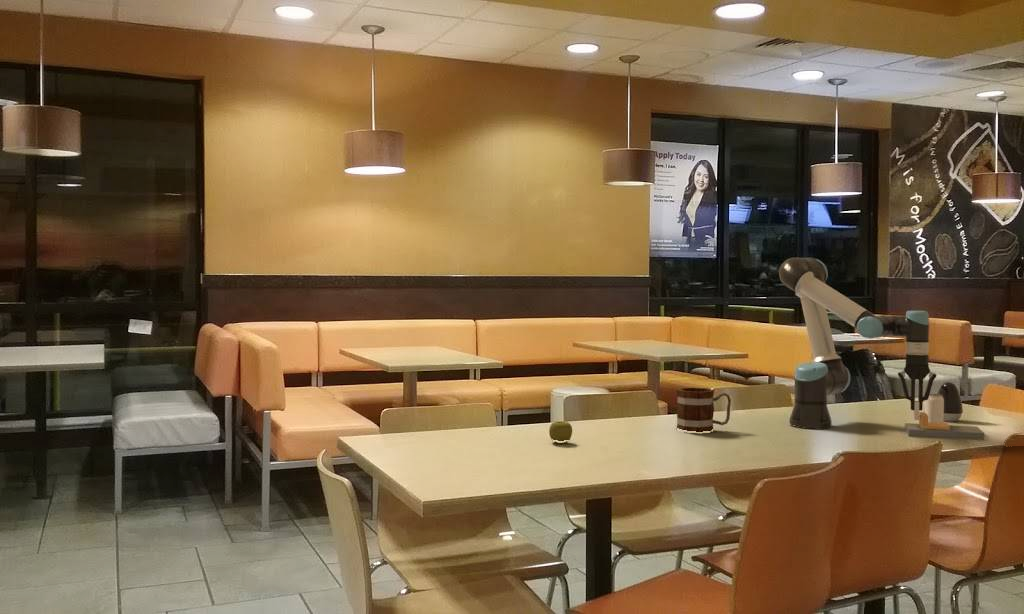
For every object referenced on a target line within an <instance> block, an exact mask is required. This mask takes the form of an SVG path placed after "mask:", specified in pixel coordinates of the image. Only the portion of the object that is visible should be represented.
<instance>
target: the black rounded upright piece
mask: <svg viewBox="0 0 1024 614" xmlns="http://www.w3.org/2000/svg"><path fill="white" fill-rule="evenodd" d="M936 394H939V395H943V396H942V397H943V399H944V420H943V422H945V423H948V422H949V423H950V422H951V423H952V422H953V423H954V421H955V422H958V420H960V419H961V417H962V414H963V413H964V411H963V410H964V409H963V401H962V397H961V394H960V390H959V388H958V387H957V386H956V384H955V383H953V382H952V381H946V382H944V383H942V384H941V385H940V387H939V389H938V391H937V393H936Z"/></svg>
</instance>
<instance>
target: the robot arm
mask: <svg viewBox="0 0 1024 614" xmlns="http://www.w3.org/2000/svg"><path fill="white" fill-rule="evenodd" d="M778 275H779V276H778V277H779V279H780V281H781V283H782V284H783V285H784V286H786V287H787V288H788V289H790V290H791V291H793V292H794V294H795V296H797V297H798V298H799V299H800V303H801V307H802V312H803V317H804V321H805V325H806V331H807V336H808V340H809V345H810V350H811V353H812V354H811V355H812V359H811V361H810V362H802V363H800V364H798V365H796V366H795V369H794V370H795V371H794V405H793V408H792V411H791V413H790V417H789V419H788V421H789V422H788V423H790V424H791V425H795V426H799V427H805V428H804V429H809V428H824V429H830V428H832V427H833V426H832V425H833V423H832V417H831V415H830V412H829V409H828V396H833V395H838V394H841V393H843V392H844V391H846V390H847V388H848V387H849V385H850V382H851V373H850V370H849V369H848V368H847V367H846V366H845V365H844V364H843V361H842V357H841V356H840V355H839V354H837V353H836V348H835V344H834V343H835V342H834V339H833V335H832V329H831V325H830V321H829V320H830V319H829V316H828V311H829V312H830V313H831V314H833V315H835V316H837V318H839V319H841V320H843V321H844V322H846V323H847V324H849V325H850V326H852V327H853V328H855V329H856V330H857V332H858V334H859V335H860V336H861V337H864V338H865V339H875V338H883V337H885V338H886V337H902V338H903V337H904V338H905V353H906V354H905V366H904V367H903V370H902V371H899V372H897V376H898V378H899V379H900V382H901V386H902V390H903V394H904V398H905V400H908V401H910V410H911V411H913V420H914V421H919V412H920V411H921V412H922V411H923V406H924V405H923V403H924V402H925V400H928V398H929V394H931V391H932V387H933V383H934V381H935V379H936V378H937V376H938V375H937V374H936V373H934V372H932V371H931V368H930V367H929V363H930V360H929V357H930V356H929V351H930V349H929V346H930V345H929V344H930V341H929V339H930V337H929V336H930V335H929V334H930V317H929V312H928V311H926V310H907V311H906V313H905V315H888V314H879V315H878V314H877V315H875V314H874V313H872V312H870V311H869V310H867V309H866V308H864V307H863V306H861V305H860V304H858V303H856V302H855V301H853V300H851V299H850V298H848V297H847V296H846V295H844V294H842V293H840V292H839V291H838V290H836V289H834V288H833V287H831V286H829V285H827V284H826V282H827V279H828V276H829V273H828V269H827V266H826V265H825V263H824V262H823V261H821V260H819V259H817V258H814V257H790V258H787V259H786V260H785V261H783V263H781V265H780V266H779V270H778ZM906 375H907V377H908V378H909V379H910V395H909V390H908V386H907V381H906V379H905V377H906ZM926 377H928V382H927V385H926V387H925V388H926V389H925V392H924V380H925V379H926ZM917 380H918V382H917V383H918V393H917V394H918V397H917V398H918V400H916V381H917ZM791 425H790V426H791ZM799 427H798V428H799Z"/></svg>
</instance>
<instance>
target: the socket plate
mask: <svg viewBox="0 0 1024 614" xmlns="http://www.w3.org/2000/svg"><path fill="white" fill-rule="evenodd" d="M948 426H949V427H950V430H940V429H922V428H921V427H920V425H919V423H911V422H909V423H906V422H905V423H904V431H905V433H906V435H907V436H908V437H914V438H931V439H932V438H934V439H949V438H950V439H951V440H967V439H969V440H972V441H985V432H984V431H983V430H982V429H981V428H980V427H979V426H973V425H972V426H971V425H969V426H968V425H949V424H948ZM950 439H949V440H950Z"/></svg>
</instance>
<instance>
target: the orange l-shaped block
mask: <svg viewBox="0 0 1024 614" xmlns="http://www.w3.org/2000/svg"><path fill="white" fill-rule="evenodd" d="M918 424H919V425H920V427H921V428H922V429H940V430H950V427H949V426H948V425H949V424H948V422H943V423H933V422H928V415H927V414H926V413H925V411H924V412H922V411H921V412H920V411H919V420H918Z"/></svg>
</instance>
